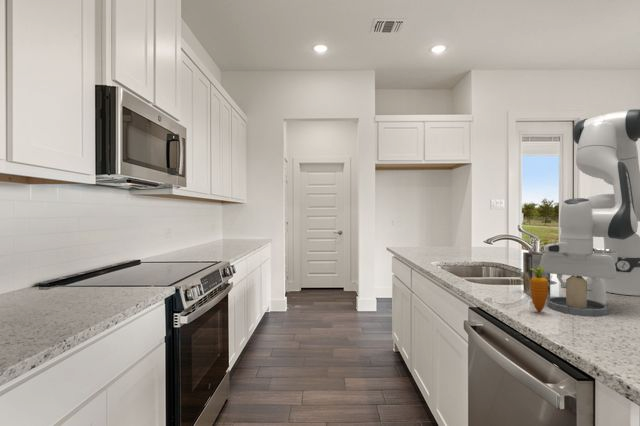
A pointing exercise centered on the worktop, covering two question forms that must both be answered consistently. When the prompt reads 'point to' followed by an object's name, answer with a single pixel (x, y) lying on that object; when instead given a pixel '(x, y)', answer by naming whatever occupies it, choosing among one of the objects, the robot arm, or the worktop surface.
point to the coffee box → (532, 262)
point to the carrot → (539, 289)
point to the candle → (576, 292)
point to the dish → (591, 310)
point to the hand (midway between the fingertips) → (576, 289)
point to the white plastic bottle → (597, 291)
